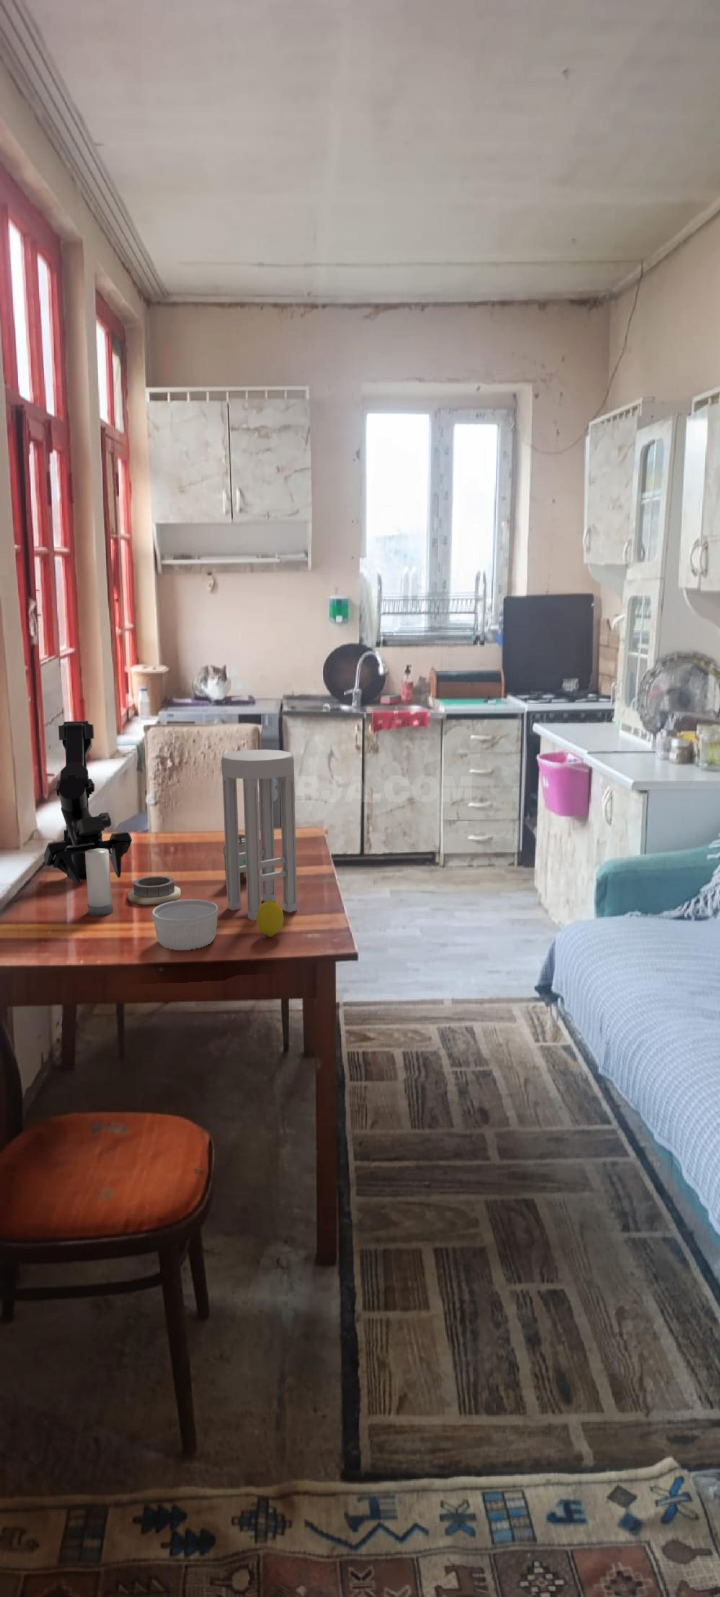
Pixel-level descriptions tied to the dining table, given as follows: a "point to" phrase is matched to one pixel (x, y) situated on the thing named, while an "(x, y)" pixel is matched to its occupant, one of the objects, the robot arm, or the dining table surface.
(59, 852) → the robot arm
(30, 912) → the dining table surface
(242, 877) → the food container
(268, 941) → the dining table surface
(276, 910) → the lemon
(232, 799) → the stool
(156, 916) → the ramekin
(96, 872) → the white smooth rounded part
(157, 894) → the socket
